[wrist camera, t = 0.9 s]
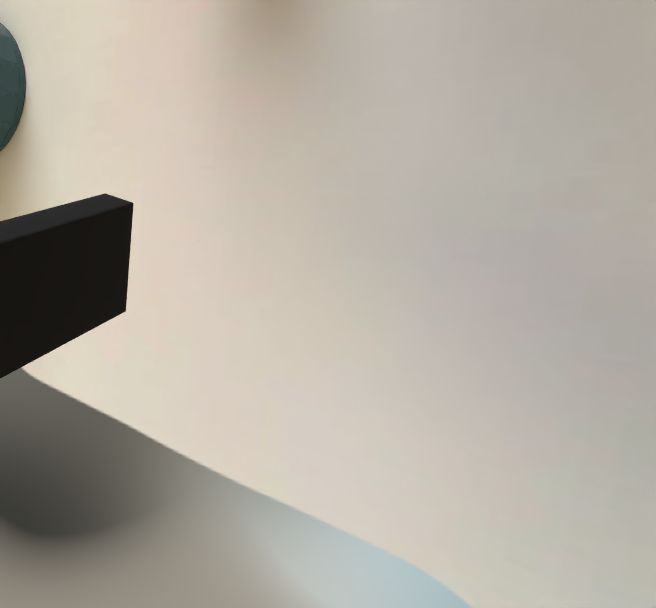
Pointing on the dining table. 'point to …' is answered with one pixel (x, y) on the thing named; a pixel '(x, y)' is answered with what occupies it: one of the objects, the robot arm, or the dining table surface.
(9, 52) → the pot
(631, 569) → the dining table surface
